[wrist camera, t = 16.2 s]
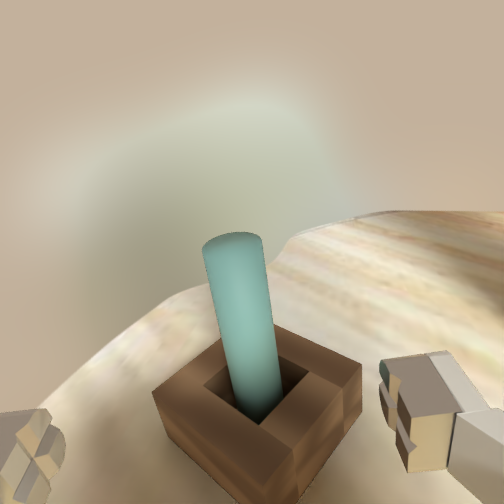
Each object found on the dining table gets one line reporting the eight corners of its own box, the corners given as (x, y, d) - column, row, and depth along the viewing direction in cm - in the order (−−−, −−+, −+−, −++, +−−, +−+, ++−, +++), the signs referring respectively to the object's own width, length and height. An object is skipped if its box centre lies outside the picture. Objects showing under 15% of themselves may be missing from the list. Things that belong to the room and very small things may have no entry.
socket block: (258, 354, 36) (251, 313, 34) (362, 411, 29) (361, 364, 27) (167, 436, 30) (151, 392, 27) (272, 535, 23) (262, 486, 20)
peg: (262, 398, 32) (232, 227, 24) (296, 420, 29) (274, 238, 22) (232, 428, 30) (189, 250, 22) (266, 454, 27) (231, 265, 20)
